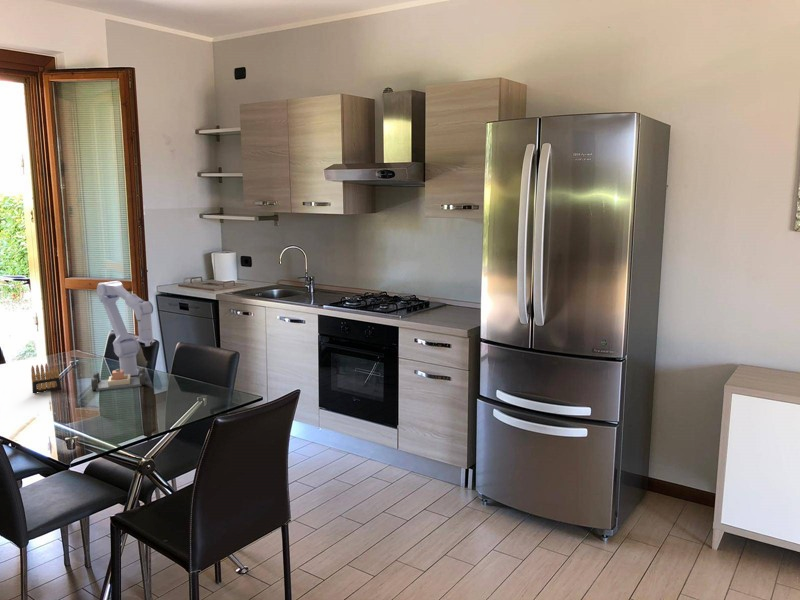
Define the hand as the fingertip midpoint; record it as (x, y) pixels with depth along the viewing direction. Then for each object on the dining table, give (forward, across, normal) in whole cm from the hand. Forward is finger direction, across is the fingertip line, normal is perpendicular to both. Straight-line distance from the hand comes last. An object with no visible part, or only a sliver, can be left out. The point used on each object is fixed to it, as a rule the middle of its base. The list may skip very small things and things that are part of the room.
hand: (147, 358), depth 298 cm
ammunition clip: (+10, -3, -41) cm, 42 cm away
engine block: (+8, +2, -13) cm, 15 cm away
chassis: (+9, +2, -12) cm, 16 cm away
